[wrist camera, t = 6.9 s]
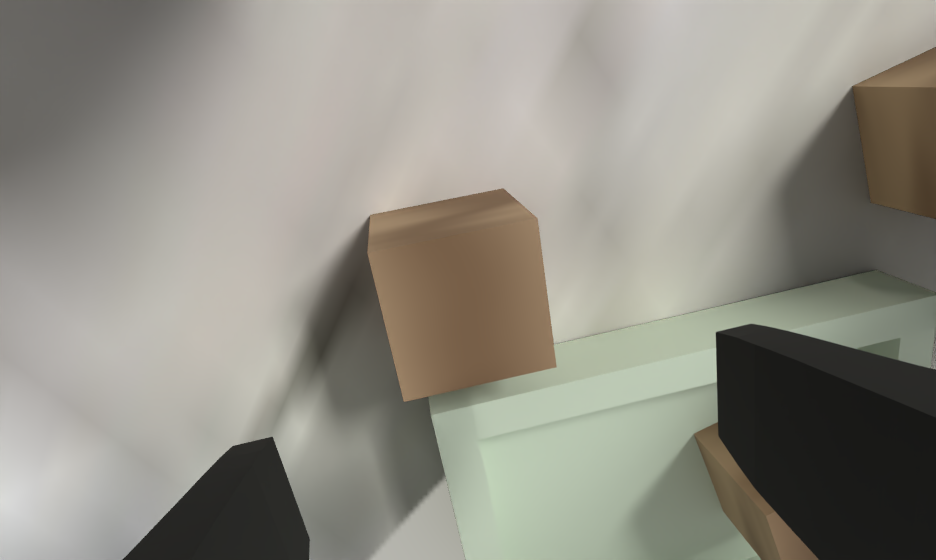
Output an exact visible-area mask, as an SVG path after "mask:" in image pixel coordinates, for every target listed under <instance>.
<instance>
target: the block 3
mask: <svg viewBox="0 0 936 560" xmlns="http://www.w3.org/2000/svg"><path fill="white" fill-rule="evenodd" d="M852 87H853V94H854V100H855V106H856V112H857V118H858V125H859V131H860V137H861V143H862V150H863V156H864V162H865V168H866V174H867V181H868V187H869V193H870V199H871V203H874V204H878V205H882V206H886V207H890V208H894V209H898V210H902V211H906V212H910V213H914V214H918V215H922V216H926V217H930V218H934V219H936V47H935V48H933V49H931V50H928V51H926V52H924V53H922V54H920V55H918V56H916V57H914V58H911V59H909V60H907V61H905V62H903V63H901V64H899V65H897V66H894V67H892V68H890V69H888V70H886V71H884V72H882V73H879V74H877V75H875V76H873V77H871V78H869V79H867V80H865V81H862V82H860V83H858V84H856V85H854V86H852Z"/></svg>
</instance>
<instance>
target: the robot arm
mask: <svg viewBox="0 0 936 560" xmlns="http://www.w3.org/2000/svg"><path fill="white" fill-rule="evenodd" d="M716 366H717V407H718V436H719V438H720V439H721V441H722V442H723V444H724V445H725V447H726V448H727V450H728V451H729V453H730V454H731V456H732V457H733V459H734V460H735V462H736V463H737V465H738V466H739V467H740V469H741V470H742V472H743V473H744V474H745V476H746V477H747V478H748V480H749V481H750V483H751V484H752V485H753V487H754V488H755V489H756V490H757V492H758V493H759V494H760V495H761V496H762V497H763V498H764V500H765V501H766V502H767V503H768V504H769V505H770V506H771V507H772V509H773V510H774V511H775V512H776V513H777V514H778V515H779V516H780V517H781V519H782V520H783V521H784V522H785V523H786V524H787V525H788V526H789V527H790V529H791V530H792V531H793V532H794V533H795V534H796V535H797V536H798V537H799V538H800V539H801V541H802V542H803V543H804V544H805V545H806V546H807V547H808V548H809V549H810V550H811V552H812V553H813V554H814V555H815V556H816V557H817V558H818V559H819V560H936V370H935V369H931V368H927V367H923V366H919V365H915V364H911V363H907V362H903V361H900V360H896V359H892V358H888V357H884V356H881V355H877V354H873V353H869V352H866V351H862V350H858V349H855V348H851V347H847V346H843V345H840V344H836V343H832V342H829V341H825V340H821V339H817V338H814V337H810V336H806V335H802V334H798V333H794V332H790V331H786V330H782V329H777V328H773V327H768V326H763V325H757V324H747V325H743V326H739V327H734V328H730V329H726V330H722V331H718V332H716ZM309 542H310V538H309V536H308V533H307V530H306V527H305V525H304V522H303V519H302V516H301V514H300V511H299V508H298V505H297V503H296V500H295V497H294V494H293V492H292V489H291V486H290V483H289V481H288V478H287V475H286V472H285V470H284V467H283V464H282V461H281V459H280V456H279V453H278V450H277V448H276V445H275V442H274V439H273V437H269V438H265V439H261V440H257V441H253V442H248V443H244V444H240V445H236V446H232V447H231V448H230V449H229V450H228V451H227V452H226V453H225V454H224V455H223V456H222V457H220V458H219V459H218V460H217V461H216V462H215V464H214V465H213V466H212V467H211V468H210V469H209V470H208V471H207V472H206V473H205V474H204V475H203V476H202V477H201V478H200V479H199V480H198V481H197V482H196V483H195V484H194V485H193V487H192V488H191V489H190V490H189V491H188V492H187V493H186V494H185V495H184V496H183V497H182V498H181V499H180V500H179V501H178V502H177V504H176V505H175V506H174V507H173V508H172V509H171V510H170V511H169V512H168V513H167V514H166V515H165V516H164V517H163V518H162V519H161V520H160V521H159V522H158V523H157V525H156V526H155V527H154V528H153V529H152V530H151V531H150V532H149V533H148V534H147V535H146V536H145V537H144V538H143V539H142V540H141V541H140V542H139V543H138V544H137V546H136V547H135V548H134V549H133V550H132V551H131V552H130V553H129V554H128V555H127V556H126V557H125V558H124V559H123V560H309Z"/></svg>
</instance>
